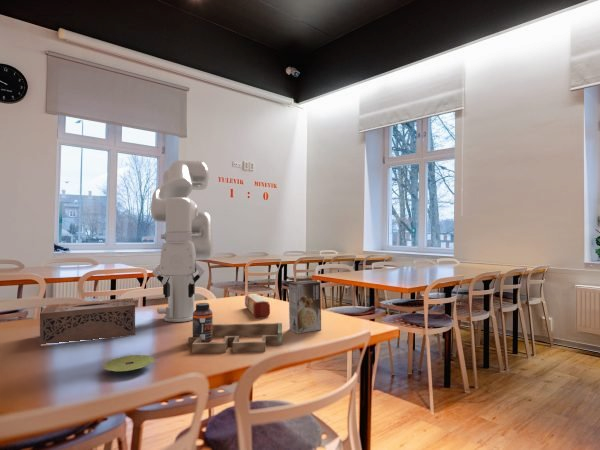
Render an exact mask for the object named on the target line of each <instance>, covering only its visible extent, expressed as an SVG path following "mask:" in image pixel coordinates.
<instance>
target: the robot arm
mask: <svg viewBox="0 0 600 450" xmlns="http://www.w3.org/2000/svg"><path fill="white" fill-rule="evenodd" d="M209 177H210V171H209V167H208V165H207V164H206V163H205V162H204V161H201V160H200V161H199V160H176V161H175V160H174V161H172V162H171V163H170V165H169V167H168V169H166V170H165V171H164V172H163V175H162V179H163V180H162V181H163V184H161V185H159V186H158V187H157V188H156V189H155V190H153V191H154V192H153V193H152V197H151V204H150V214H151V215H150V216H151V218H152V220H154V221H156V222H159V223H165V232H164V233H163V234H161V235H160V239H161V240H164V241H165V242H162V245H161V251H160V260H159V265H158V266H157V267H156V268H154V270H152V272H151V274H152V275H154V277H156V279H157V280H158V281H159V282H160V283H161V285H162V295H164V298H165V299H168V300H167V304H168V306H167V307H158V308H156V309H157V310H156V311H157V314H159V315H162V314H163V315H164V316H163V320H164V321H165V322H171V323H183V322H191V321H193V312H194V311H195V293H196V291H195V289H196V287H195V286H196V282H198V280H200V279H201V278H202V276H203V275H204V274H205V273H206V270H205V269H204V267H202V266H201V265H200V264H199V263H198V262H197V261H204V260H206V261H207V260H209V259H211V257H213V253H214V244H213V240H214V239H213V223H212V217H211V216H210V214H209V213H208V212H206V211H202V210H201V211H200V210H199V209H198V205H197V204H196V202H195V201H194V200H192V199H191V198H190V197H189V195H190V194H191V193H192V191H195V190H196V191H203V190H205V189H206V188H207V187H208V184H209V179H210V178H209ZM197 271H198V273H197V274H196V275H195V273H196V272H197Z"/></svg>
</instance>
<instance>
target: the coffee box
mask: <svg viewBox="0 0 600 450" xmlns="http://www.w3.org/2000/svg"><path fill="white" fill-rule="evenodd" d="M321 301H322V300H321V281H318V280H317V281H316V280H312V279H311V280H310V279H309V280H299V281H289V282H288V311H289V313H288V317H289V318H288V319H289V320H288V321H289V330H290V331H292V332H293V333H296V334H303V333H309V332H310V333H311V332H315V331H321V330H322V304H321V303H322V302H321Z"/></svg>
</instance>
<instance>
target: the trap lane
mask: <svg viewBox="0 0 600 450" xmlns="http://www.w3.org/2000/svg"><path fill="white" fill-rule="evenodd" d="M212 324H213V323H212ZM212 329H213V330H212V334H213V335H212V336H213V337H224V338H223V339H222V342H219V341H218V342H206V343H201V337H193V336H189V337H188V338H187V342H188V343H187V345H188V348H192V351H191V352H192V354H205V353H206V354H208V353H209V354H210V353H211V354H212V353H214V354H215V353H226V352H227V349H228V347H230V346H231V347H232V353H247V352H248V353H252V352H253V353H255V352H266V349H267V346H270V345H271V346H274V345H276V346H277V345H278V346H279V345H283V322H265V323H264V322H262V323H261V322H260V323H258V322H257V323H223V324H222V323H219V324H218V323H217V324H213V327H212ZM240 336H241V337H245V336H246V337H247V336H262V339H261V340H260V341H240Z"/></svg>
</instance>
